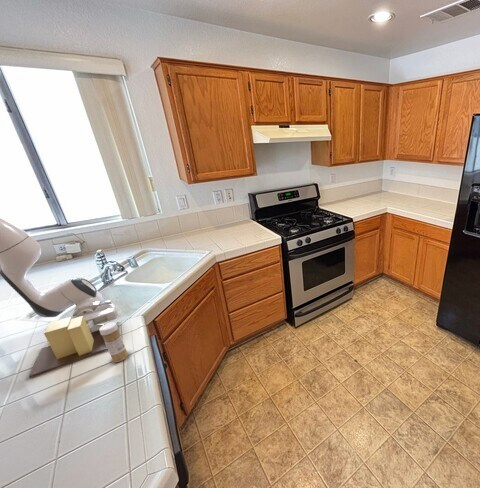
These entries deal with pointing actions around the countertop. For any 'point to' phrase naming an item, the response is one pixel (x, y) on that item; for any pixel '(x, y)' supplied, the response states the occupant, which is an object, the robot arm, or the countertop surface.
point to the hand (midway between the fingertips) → (83, 331)
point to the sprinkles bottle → (113, 341)
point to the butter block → (60, 338)
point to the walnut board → (50, 362)
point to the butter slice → (80, 335)
